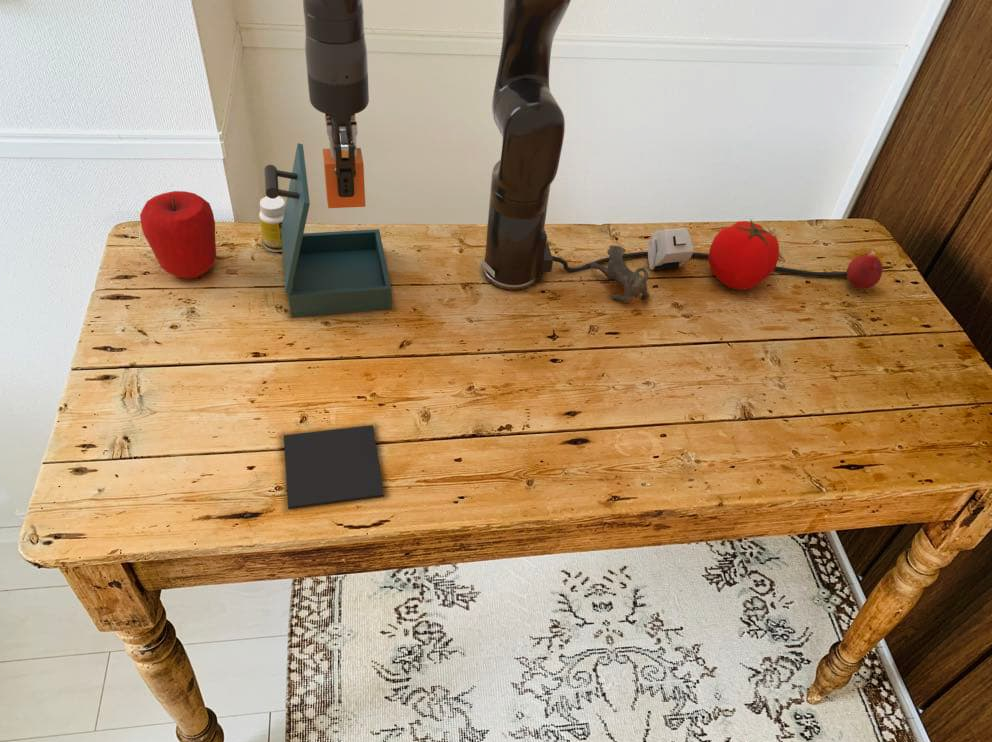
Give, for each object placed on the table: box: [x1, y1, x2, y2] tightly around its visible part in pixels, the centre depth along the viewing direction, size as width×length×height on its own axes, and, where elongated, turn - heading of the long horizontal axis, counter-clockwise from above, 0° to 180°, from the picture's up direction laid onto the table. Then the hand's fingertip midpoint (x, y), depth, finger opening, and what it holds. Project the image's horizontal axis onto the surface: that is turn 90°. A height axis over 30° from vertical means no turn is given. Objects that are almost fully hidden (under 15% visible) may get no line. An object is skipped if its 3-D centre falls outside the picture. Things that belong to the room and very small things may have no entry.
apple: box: [139, 190, 217, 280], centre depth 126 cm, size 10×10×14 cm
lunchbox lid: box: [263, 142, 311, 295], centre depth 121 cm, size 16×16×5 cm
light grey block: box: [647, 227, 695, 271], centre depth 141 cm, size 6×7×10 cm
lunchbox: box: [287, 228, 393, 318], centre depth 131 cm, size 16×16×4 cm
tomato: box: [708, 218, 780, 291], centre depth 140 cm, size 12×12×11 cm
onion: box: [846, 250, 884, 290], centre depth 143 cm, size 6×6×8 cm
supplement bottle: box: [258, 196, 286, 253], centre depth 134 cm, size 5×5×8 cm
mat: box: [283, 424, 385, 509], centre depth 107 cm, size 12×12×1 cm
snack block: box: [322, 147, 366, 209], centre depth 113 cm, size 5×4×7 cm
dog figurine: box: [590, 244, 650, 304], centre depth 136 cm, size 12×6×7 cm, turn 30°
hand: (345, 185), depth 114 cm, fingers closed on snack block, 4 cm apart
